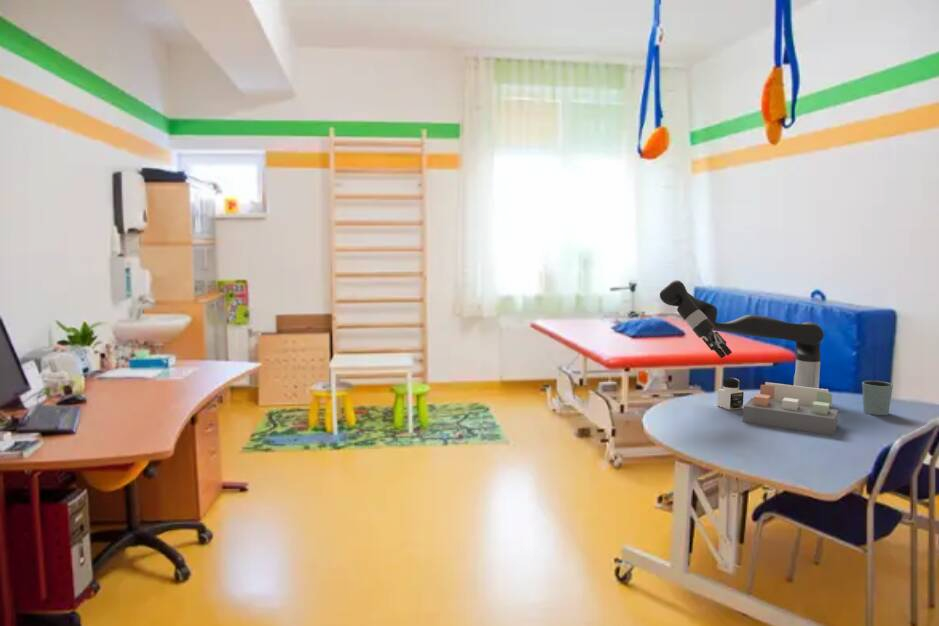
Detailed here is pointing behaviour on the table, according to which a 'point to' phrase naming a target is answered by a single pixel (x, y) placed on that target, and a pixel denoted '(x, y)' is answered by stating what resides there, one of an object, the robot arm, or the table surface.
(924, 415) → the table surface
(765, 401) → the terracotta key
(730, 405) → the medicine bottle
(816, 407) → the sage key
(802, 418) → the key console
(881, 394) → the green cup
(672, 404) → the table surface
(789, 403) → the cream small block
